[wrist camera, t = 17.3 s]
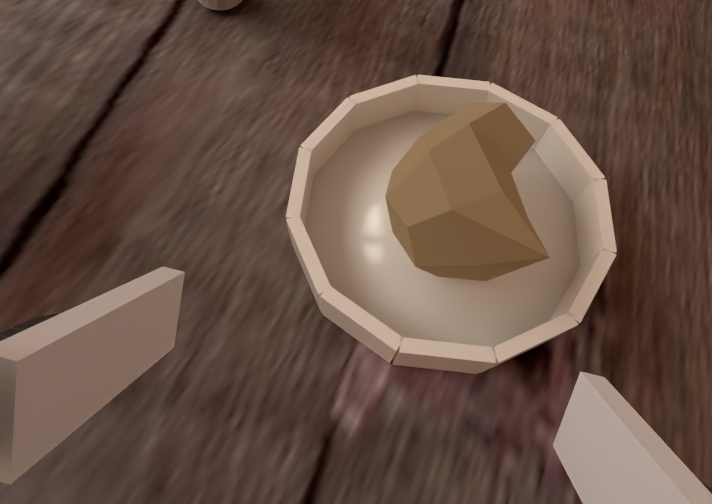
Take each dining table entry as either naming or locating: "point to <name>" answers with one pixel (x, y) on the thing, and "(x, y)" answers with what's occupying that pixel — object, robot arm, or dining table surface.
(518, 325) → the cream bowl
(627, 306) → the dining table surface
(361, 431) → the dining table surface
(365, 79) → the dining table surface
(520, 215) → the low-poly potato
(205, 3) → the decorative mushroom
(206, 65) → the dining table surface
